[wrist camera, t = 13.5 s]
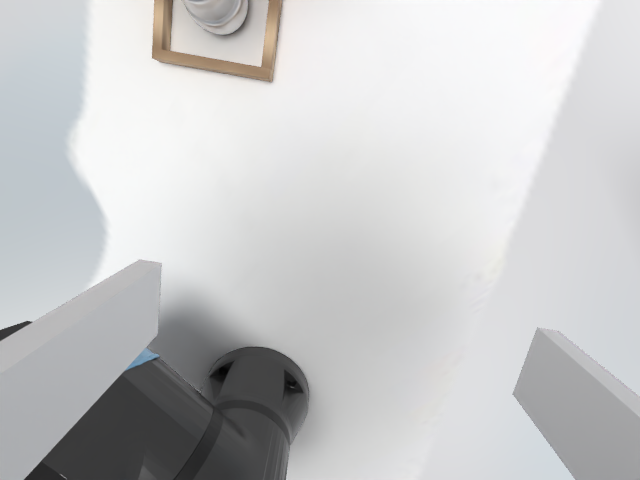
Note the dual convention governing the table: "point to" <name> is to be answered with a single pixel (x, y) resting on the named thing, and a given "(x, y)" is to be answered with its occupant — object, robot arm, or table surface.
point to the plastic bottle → (218, 14)
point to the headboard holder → (166, 56)
